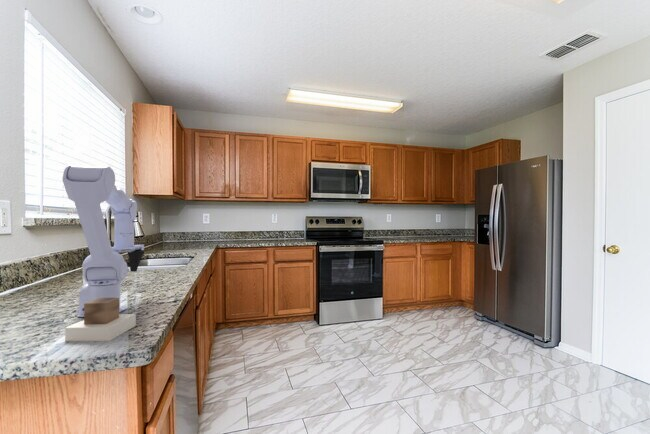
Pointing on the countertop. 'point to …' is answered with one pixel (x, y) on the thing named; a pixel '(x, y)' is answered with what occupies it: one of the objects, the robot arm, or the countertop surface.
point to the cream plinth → (100, 329)
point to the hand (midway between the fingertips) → (123, 273)
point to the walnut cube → (101, 311)
